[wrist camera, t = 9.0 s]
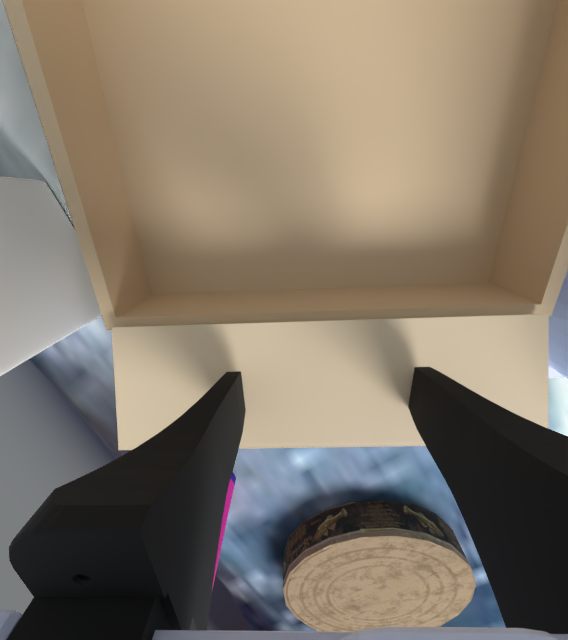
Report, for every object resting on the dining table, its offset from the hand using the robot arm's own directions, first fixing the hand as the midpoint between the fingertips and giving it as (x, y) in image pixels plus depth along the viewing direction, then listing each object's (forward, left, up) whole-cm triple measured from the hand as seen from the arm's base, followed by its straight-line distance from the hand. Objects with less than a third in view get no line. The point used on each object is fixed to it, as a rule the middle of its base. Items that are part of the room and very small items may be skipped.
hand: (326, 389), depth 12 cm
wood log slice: (-5, +24, -6) cm, 25 cm away
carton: (0, -10, -6) cm, 12 cm away
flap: (0, 0, 0) cm, 0 cm away
